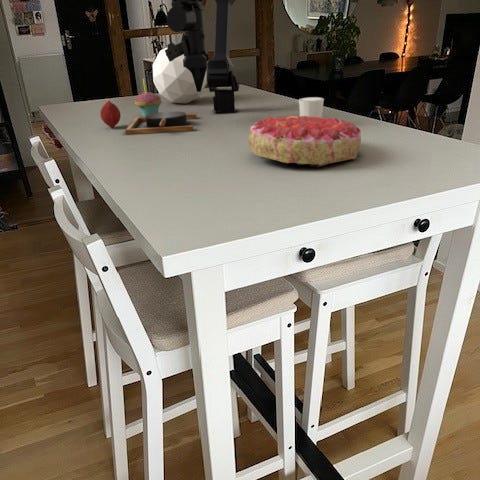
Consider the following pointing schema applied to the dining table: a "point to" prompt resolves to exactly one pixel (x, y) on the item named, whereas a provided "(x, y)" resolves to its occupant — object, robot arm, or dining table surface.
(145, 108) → the cupcake
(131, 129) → the pan rest
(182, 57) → the geometric orb
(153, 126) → the pan
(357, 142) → the cake
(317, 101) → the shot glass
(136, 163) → the dining table surface
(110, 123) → the onion
